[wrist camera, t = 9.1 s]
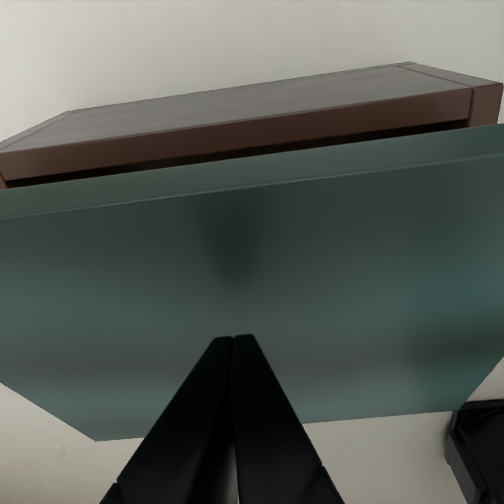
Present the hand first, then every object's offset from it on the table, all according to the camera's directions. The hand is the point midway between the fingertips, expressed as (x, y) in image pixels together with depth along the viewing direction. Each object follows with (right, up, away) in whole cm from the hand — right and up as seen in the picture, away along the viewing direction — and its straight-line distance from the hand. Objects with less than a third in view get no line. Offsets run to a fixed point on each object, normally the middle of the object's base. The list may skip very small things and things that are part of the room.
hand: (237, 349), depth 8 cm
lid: (0, 0, +3) cm, 3 cm away
